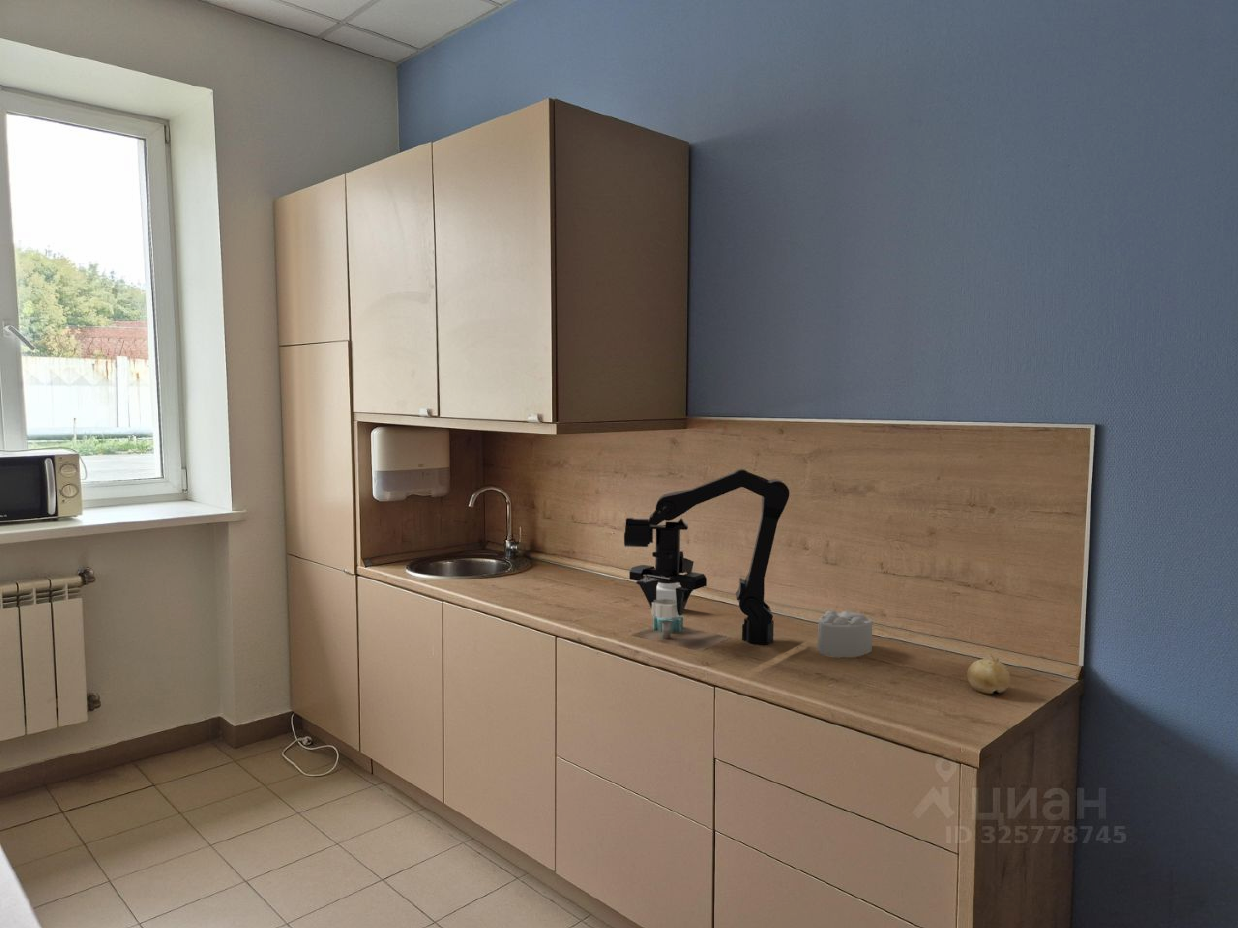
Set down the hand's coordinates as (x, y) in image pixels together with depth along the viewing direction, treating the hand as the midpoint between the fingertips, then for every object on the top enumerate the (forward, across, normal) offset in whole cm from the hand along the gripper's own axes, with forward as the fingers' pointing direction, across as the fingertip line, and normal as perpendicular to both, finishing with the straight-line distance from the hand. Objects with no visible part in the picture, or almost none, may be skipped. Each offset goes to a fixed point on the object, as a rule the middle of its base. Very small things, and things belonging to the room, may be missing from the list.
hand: (666, 612), depth 203 cm
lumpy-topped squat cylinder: (+8, -36, -20) cm, 42 cm away
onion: (+8, -69, -12) cm, 71 cm away
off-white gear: (0, 0, 0) cm, 0 cm away
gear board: (+7, -2, -3) cm, 8 cm away
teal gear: (+6, +4, -7) cm, 10 cm away
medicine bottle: (+7, +16, -23) cm, 29 cm away
